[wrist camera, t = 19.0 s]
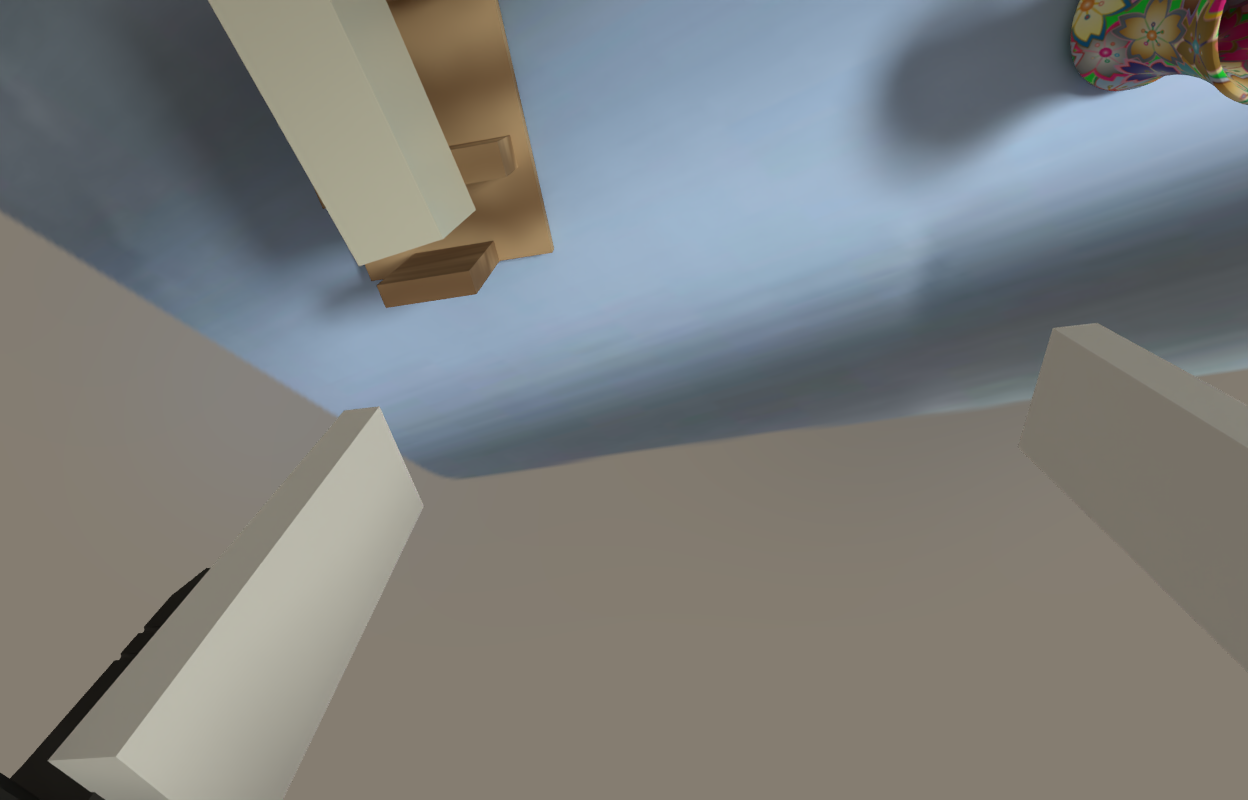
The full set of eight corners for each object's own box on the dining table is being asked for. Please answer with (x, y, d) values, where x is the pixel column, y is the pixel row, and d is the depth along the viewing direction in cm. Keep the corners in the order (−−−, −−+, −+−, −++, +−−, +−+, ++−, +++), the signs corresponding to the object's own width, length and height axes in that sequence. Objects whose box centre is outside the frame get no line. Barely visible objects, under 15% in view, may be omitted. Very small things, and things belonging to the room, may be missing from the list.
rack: (203, -149, 29) (74, -216, 22) (451, -208, 28) (393, -298, 21) (376, 276, 42) (326, 316, 35) (553, 248, 40) (538, 284, 33)
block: (247, -78, 27) (139, -121, 21) (335, -118, 26) (247, -175, 20) (405, 232, 35) (359, 266, 29) (476, 209, 34) (443, 239, 28)
